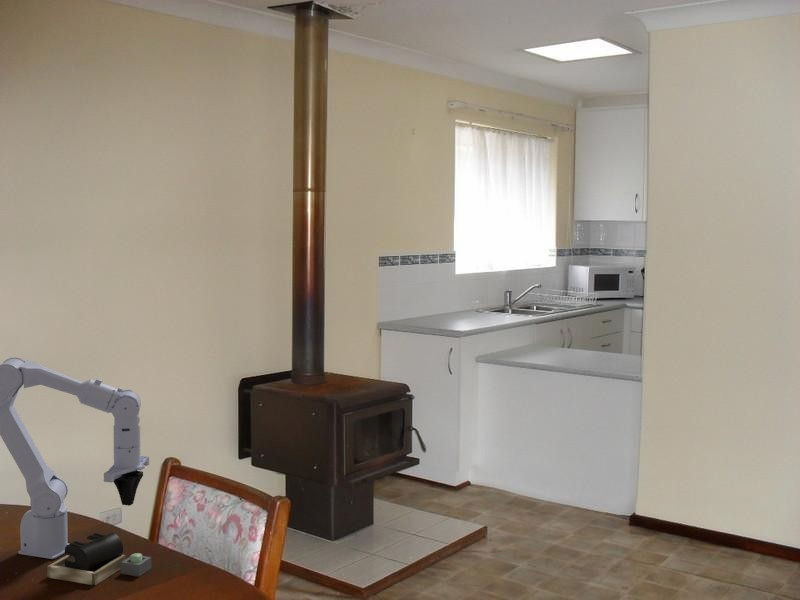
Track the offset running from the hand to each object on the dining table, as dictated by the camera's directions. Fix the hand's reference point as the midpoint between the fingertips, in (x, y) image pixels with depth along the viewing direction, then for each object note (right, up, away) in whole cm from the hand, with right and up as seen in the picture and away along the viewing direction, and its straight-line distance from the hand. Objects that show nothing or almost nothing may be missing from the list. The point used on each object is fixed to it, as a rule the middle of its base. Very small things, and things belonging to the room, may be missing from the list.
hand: (127, 504), depth 194 cm
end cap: (-3, -11, -12) cm, 17 cm away
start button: (+6, -11, -12) cm, 17 cm away
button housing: (+6, -11, -12) cm, 18 cm away
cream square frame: (-4, -11, -13) cm, 18 cm away
